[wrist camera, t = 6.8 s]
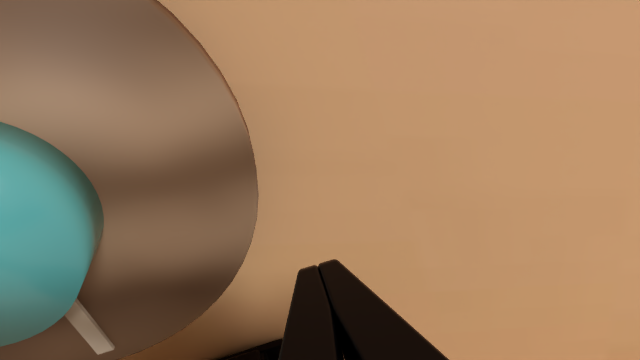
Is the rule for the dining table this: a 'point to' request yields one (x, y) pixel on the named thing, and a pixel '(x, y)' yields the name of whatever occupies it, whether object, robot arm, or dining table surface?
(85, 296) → the disc
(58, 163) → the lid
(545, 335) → the dining table surface
